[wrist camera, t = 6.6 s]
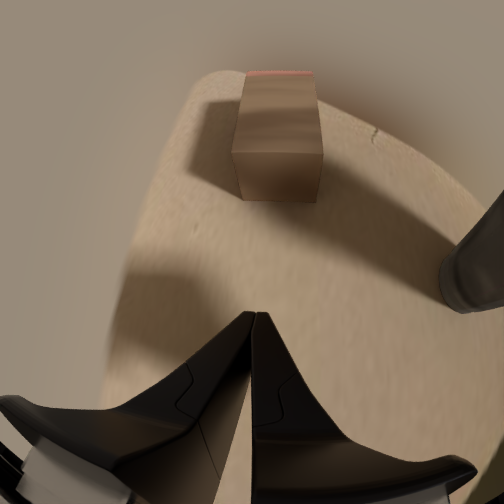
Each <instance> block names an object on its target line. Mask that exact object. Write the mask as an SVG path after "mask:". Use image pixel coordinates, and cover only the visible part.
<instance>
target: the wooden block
mask: <svg viewBox="0 0 504 504" xmlns="http://www.w3.org/2000/svg"><path fill="white" fill-rule="evenodd" d="M231 155H232V159H233V163H234V167H235V171H236V175H237V179H238V183H239V187H240V191H241V195H242V199H243V201H289V202H315V203H316V197H317V192H318V186H319V180H320V174H321V167H322V161H323V144H322V135H321V126H320V118H319V111H318V103H317V97H316V90H315V84H314V77H313V72H309V71H251V72H250V71H248V72H247V73H246V77H245V82H244V87H243V92H242V97H241V102H240V107H239V112H238V117H237V123H236V128H235V133H234V139H233V144H232V150H231Z"/></svg>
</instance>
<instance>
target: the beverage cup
mask: <svg viewBox="0 0 504 504" xmlns="http://www.w3.org/2000/svg"><path fill="white" fill-rule="evenodd" d="M439 283H440V289H441V292H442V295H443V298H444V299H445V301H446V302H447V304H448V305H449V306H450V307H451V308H452V309H453V310H454V311H456V312H459V313H461V314H466V313H471V312H481V311H486V310H490V309H495V308H499V307H503V306H504V190H503V192H502V193H501V194H500V195H499V197H498V198H497V199H496V201H495V202H494V203H493V204H492V206H491V207H490V208H489V209H488V211H487V212H486V213H485V214H484V215H483V217H482V218H481V219H480V220H479V221H478V222H477V224H476V225H475V226H474V227H473V228H472V229H471V230H470V232H469V233H468V234H467V235H466V236H465V237H464V238H463V239H462V240H461V241H460V242H459V244H458V245H457V246H456V247H455V248H454V249H453V250H452V253H451V254H450V255H448V256H447V257H446V259H445V260H444V261H443V263H442V265H441V268H440V273H439Z"/></svg>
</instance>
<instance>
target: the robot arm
mask: <svg viewBox="0 0 504 504" xmlns="http://www.w3.org/2000/svg"><path fill="white" fill-rule="evenodd" d="M250 377H251V403H252V482H251V504H450V499H449V495H450V494H451V493H453V492H454V491H456V490H457V489H459V488H460V487H462V486H463V485H465V484H466V483H467V482H469V481H470V480H471V479H473V478H474V477H475V476H476V475H477V473H478V470H477V469H476V468H475V466H474V465H473V464H472V463H470V462H469V461H468V460H466V459H463V458H461V457H459V456H456V455H446V456H442V457H439V458H436V459H432V460H428V461H423V462H411V461H404V460H401V459H397V458H394V457H392V456H389V455H386V454H383V453H381V452H378V451H375V450H373V449H370V448H368V447H365V446H363V445H360V444H358V443H356V442H354V441H352V440H351V439H349V438H348V437H347V436H346V435H345V434H344V433H343V432H342V431H341V430H340V429H339V428H338V426H337V425H336V424H335V423H334V421H333V420H332V419H331V417H330V416H329V415H328V414H327V412H326V411H325V410H324V409H323V407H322V406H321V405H320V403H319V402H318V401H317V399H316V398H315V397H314V395H313V394H312V392H311V391H310V389H309V388H308V386H307V384H306V383H305V381H304V379H303V377H302V375H301V374H300V372H299V370H298V368H297V366H296V364H295V362H294V361H293V359H292V357H291V355H290V353H289V351H288V349H287V347H286V345H285V344H284V342H283V340H282V338H281V336H280V334H279V332H278V330H277V328H276V326H275V324H274V323H273V321H272V319H271V317H270V315H269V313H268V312H256V313H255V312H253V311H243V312H242V313H241V314H240V315H239V316H238V317H236V318H235V319H234V320H233V321H232V322H231V323H230V324H229V325H227V326H226V327H225V328H224V329H223V330H222V331H221V332H219V333H218V334H217V335H216V336H215V337H214V338H212V339H211V340H210V341H209V342H208V343H207V344H205V345H204V346H203V347H202V348H201V349H200V350H198V351H197V352H196V353H195V354H194V355H193V356H191V357H190V358H189V359H188V360H187V361H186V363H185V362H184V363H183V364H182V365H181V366H179V367H178V368H177V369H176V370H174V371H173V372H172V373H170V374H169V375H168V376H167V377H165V378H164V379H162V380H161V381H159V382H158V383H156V384H155V385H153V386H152V387H150V388H149V389H147V390H145V391H144V392H142V393H140V394H139V395H137V396H136V397H134V398H132V399H131V400H129V401H127V402H126V403H124V404H122V405H120V406H118V407H115V408H112V409H106V410H81V409H80V410H79V409H60V408H49V407H43V406H39V405H36V404H33V403H31V402H29V401H28V400H26V399H25V398H23V397H21V396H19V395H5V396H0V411H1V412H2V413H3V415H4V416H5V417H6V418H7V420H8V421H9V422H10V423H11V424H12V425H13V426H14V427H15V428H16V429H17V430H18V431H19V432H20V434H21V435H22V436H23V437H24V438H25V439H26V440H28V442H29V443H30V444H31V445H33V447H32V448H31V450H30V452H29V454H28V455H27V457H26V458H25V460H24V461H22V460H21V459H20V458H19V457H17V456H16V455H15V454H14V453H13V452H12V451H10V450H9V449H8V448H7V447H6V446H5V445H4V444H3V443H1V442H0V504H213V502H214V499H215V496H216V493H217V489H218V486H219V483H220V480H221V477H222V473H223V470H224V467H225V464H226V460H227V457H228V454H229V451H230V447H231V444H232V440H233V437H234V434H235V430H236V427H237V423H238V420H239V416H240V413H241V409H242V406H243V402H244V399H245V395H246V392H247V388H248V384H249V381H250ZM485 504H504V492H503V493H502V494H500V495H499V496H497V497H495V498H494V499H492V500H490V501H489V502H487V503H485Z"/></svg>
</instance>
